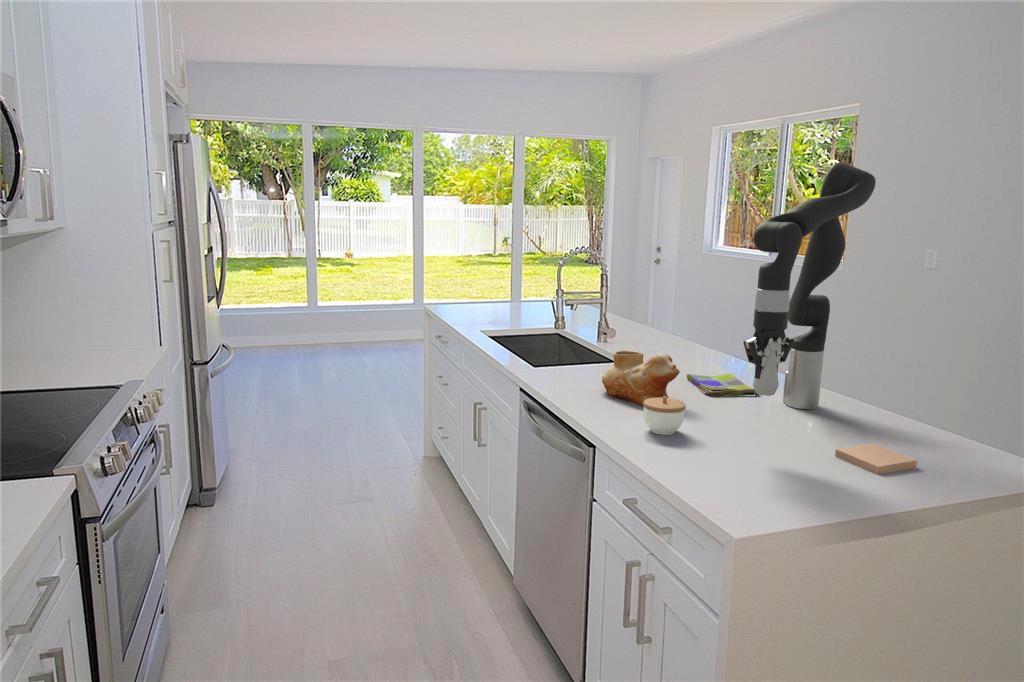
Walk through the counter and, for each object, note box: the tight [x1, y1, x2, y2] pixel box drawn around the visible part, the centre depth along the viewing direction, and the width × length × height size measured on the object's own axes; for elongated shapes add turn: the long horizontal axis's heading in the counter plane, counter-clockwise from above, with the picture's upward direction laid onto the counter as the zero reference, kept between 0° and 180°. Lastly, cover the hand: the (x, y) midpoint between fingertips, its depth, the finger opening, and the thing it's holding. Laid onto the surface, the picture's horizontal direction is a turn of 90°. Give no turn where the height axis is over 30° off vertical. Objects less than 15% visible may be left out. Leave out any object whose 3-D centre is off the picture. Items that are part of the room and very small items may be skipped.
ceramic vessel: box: [601, 350, 681, 407], centre depth 216 cm, size 14×26×15 cm, turn 40°
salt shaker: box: [752, 341, 780, 397], centre depth 168 cm, size 6×6×13 cm
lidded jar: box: [643, 396, 686, 436], centre depth 184 cm, size 11×11×9 cm
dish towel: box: [686, 373, 760, 396], centre depth 232 cm, size 18×24×3 cm
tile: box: [834, 443, 918, 475], centre depth 165 cm, size 2×12×12 cm
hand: (765, 380), depth 168 cm, fingers closed on salt shaker, 3 cm apart
